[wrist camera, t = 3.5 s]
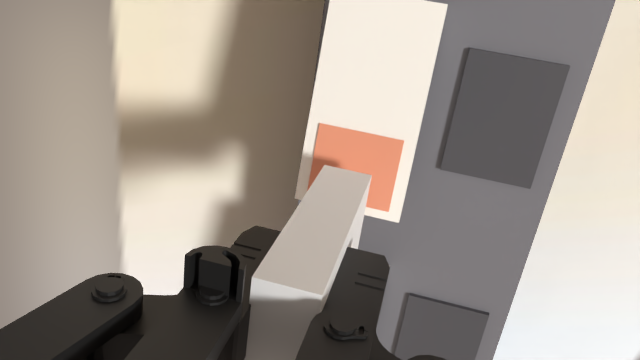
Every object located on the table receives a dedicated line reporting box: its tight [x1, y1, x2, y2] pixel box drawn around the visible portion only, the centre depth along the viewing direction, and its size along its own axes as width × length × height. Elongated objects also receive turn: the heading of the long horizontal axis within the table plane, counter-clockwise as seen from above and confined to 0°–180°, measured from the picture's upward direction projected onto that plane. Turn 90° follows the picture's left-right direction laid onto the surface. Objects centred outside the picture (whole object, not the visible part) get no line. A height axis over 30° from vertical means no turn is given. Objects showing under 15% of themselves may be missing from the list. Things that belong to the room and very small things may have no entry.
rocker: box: [294, 0, 448, 223], centre depth 19 cm, size 7×4×2 cm, turn 172°
